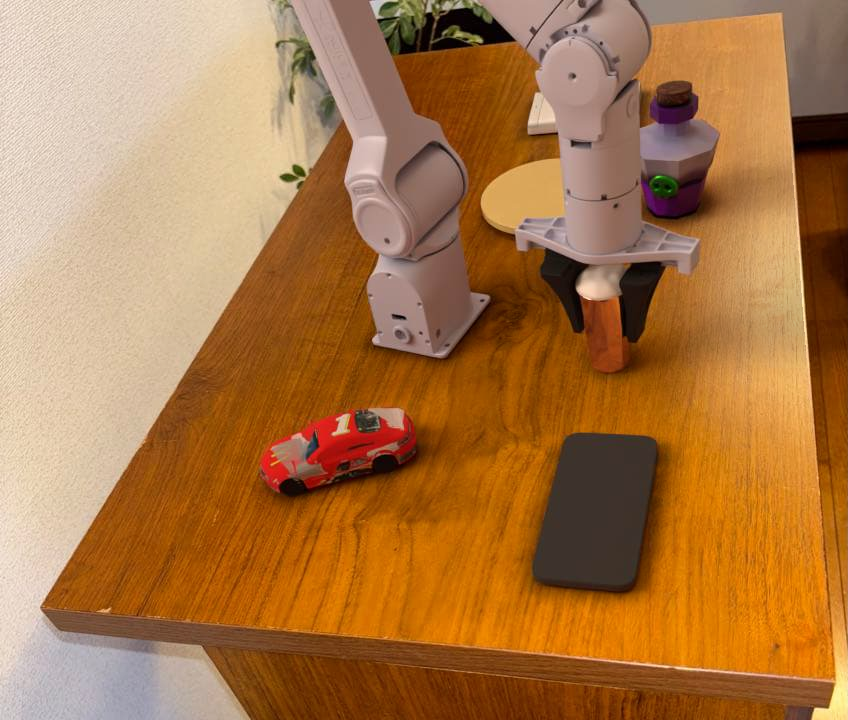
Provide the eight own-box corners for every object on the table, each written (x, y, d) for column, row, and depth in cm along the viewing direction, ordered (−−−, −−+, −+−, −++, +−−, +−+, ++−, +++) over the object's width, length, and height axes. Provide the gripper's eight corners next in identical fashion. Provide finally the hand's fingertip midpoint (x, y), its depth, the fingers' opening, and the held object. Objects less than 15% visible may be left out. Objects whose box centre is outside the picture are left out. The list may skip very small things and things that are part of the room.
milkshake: (635, 336, 86) (630, 235, 79) (638, 375, 82) (633, 272, 75) (583, 342, 87) (573, 242, 80) (583, 380, 83) (573, 279, 76)
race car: (266, 505, 80) (251, 470, 77) (264, 461, 84) (249, 426, 81) (423, 466, 80) (413, 430, 77) (414, 424, 83) (404, 388, 80)
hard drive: (641, 80, 115) (535, 90, 118) (637, 114, 109) (526, 122, 113) (641, 94, 116) (536, 103, 119) (637, 128, 111) (528, 136, 114)
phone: (527, 577, 69) (565, 431, 78) (528, 584, 70) (565, 438, 79) (634, 587, 67) (660, 435, 76) (634, 595, 67) (660, 443, 76)
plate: (583, 249, 96) (582, 236, 95) (459, 232, 103) (457, 220, 102) (636, 176, 104) (636, 164, 103) (517, 164, 110) (516, 152, 109)
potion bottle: (633, 233, 97) (630, 114, 88) (626, 188, 102) (622, 72, 94) (723, 221, 95) (729, 99, 86) (711, 176, 101) (716, 58, 92)
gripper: (716, 162, 71) (710, 316, 81) (535, 146, 78) (550, 291, 88) (682, 213, 68) (680, 369, 78) (495, 192, 74) (515, 338, 84)
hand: (609, 331), depth 82 cm, fingers closed on milkshake, 4 cm apart
